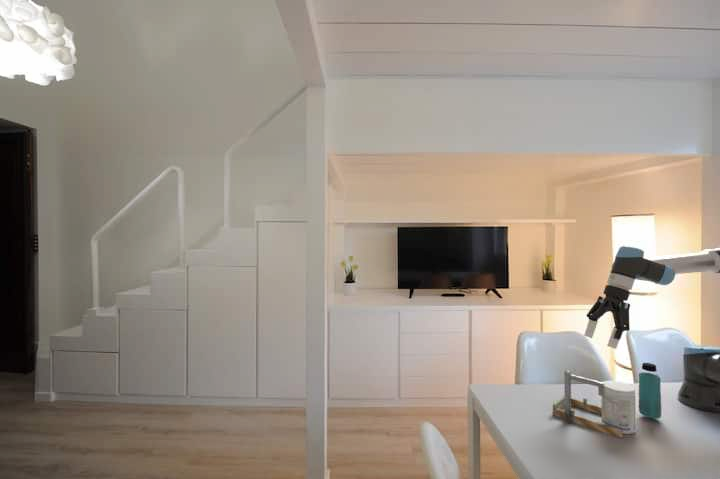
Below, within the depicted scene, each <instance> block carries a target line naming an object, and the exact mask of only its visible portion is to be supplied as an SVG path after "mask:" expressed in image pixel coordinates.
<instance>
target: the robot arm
mask: <svg viewBox="0 0 720 479" xmlns="http://www.w3.org/2000/svg"><path fill="white" fill-rule="evenodd" d="M644 254H645V251H644V250H643V249H641V248H639V247H634V246H630V245H622V246H620V247H619V249H618V250H617V253H616V254H615V258H614V261H613V263H612V265H611V270H610V274H609V275H608V279H607V281H606V283H607V284H606V285H605V287H604V289H603V295H605V296H601V295H599V296H598V297H597V300H596V302H594V305H593V306H592V307H591V308H590V309H589V311H587V313H586V316H585V317H587V318H588V322H587V325H586V329H585V331H584V334H583V335H584V337H587V338H589V339H593V337H594V334H595V331H596V328H597V325H598V322H599V319H600V318H601V317H602V316H604V315H605V314H606V313H608V312H610V313H611V314H612V317H613V318H612V319H613V322H614V327H613V329H612V330H611V334H610V337H609V340H608V342H607V346H608V347H609V348H612V349H615V350H617V347H618V345H619V343H620V340H621V339H622V338H621V337H622V335H623V334H624V332H629V331H630V329H631V328H630V307H631V303H628V302H625V301H628V299H629V297H630V296H631V295H630V294H631V290H633V287H634V283H635V281H636V280H639V281H643V282H644V281H645V282H650V283H654V284H655V285H660V286H668V285H670V284H671V283H673V281H674V280H675V277H676V275H681V274H682V275H683V274H691V273H694V274H695V273H704V272H705V273H707V274H710V275H711V274H720V247H718V248H711V249H704V250H702V251H701V252H696V253H686V254H685V253H683V254H674V255H663V256H655V257H654V256H652V257H650V256H649V257H645V256H644ZM682 357H683V362H682V363H683V381H682V384H681V386H680V388H679V390H678V393H677V400H679V401H680V402H681V403H683V404H684V405H687V406H689V407H692V408H696V409H697V410H702V411H707V412H711V413H719V414H720V347H716V346H710V345H709V346H708V345H701V344H700V345H698V344H691V345H690V344H689V345H686V346H684V348H683V354H682Z"/></svg>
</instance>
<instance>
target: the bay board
mask: <svg viewBox="0 0 720 479" xmlns="http://www.w3.org/2000/svg"><path fill="white" fill-rule="evenodd" d="M572 406H573V407H575V408H579V409H582V410H586V411H588V412H592V413H595V414H598V415H601V416H602V406H600V405H596V404H593V403H589V402H588V398H585V397H583V399H582V400H580V399H576V398H572V397H571V407H572ZM552 416H555V417H556V418H557V417H558V418H560V419H564V395H563V396H561V397H560V398H559V399H558V400H555V402H554V403H553V404H552ZM571 423H575V424H578V425H581V426H584V427H586V428H589V429H592V430H595V431H598V432H601V433H604V434H607V435H610V436H611V437H612V436H613V437H616V438H618V439H623V434H622V430H621V429H618V428H615V427H612V426H609V425H606V424H603V423H602V422H601V421H600V422H599V421H595V420H593V419H590V418H587V417H584V416H580V415H578V414H576V412H575V409H572V408H571Z"/></svg>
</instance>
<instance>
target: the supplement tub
mask: <svg viewBox="0 0 720 479" xmlns="http://www.w3.org/2000/svg"><path fill="white" fill-rule="evenodd" d="M603 382H604V383H605V395H604V396H601V407H602V415H601V423H603V424H606V425H609V426H612V427H615V428H618V429H621V430H622V435H629V434H630V435H631V434H634V433H635V432H636V392H635V388H634V387H633V386H632V385H630V384H627V383H625V382H622V381H616V380H604V381H603Z"/></svg>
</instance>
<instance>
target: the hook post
mask: <svg viewBox="0 0 720 479" xmlns="http://www.w3.org/2000/svg"><path fill="white" fill-rule="evenodd" d="M563 373H564V380H563V381H564V383H563V384H564V388H563V389H564V392H563V393H564V395H563V396H564V409H563V411H564V423H565V424H571V423H572V421H571V409H572V405H571V398H572V381H576V382H579V383H584V384H586V385H590V386H594V387H598V392H597V393H598V396H600V397H602V396H604V395H605V383H604V381H600V380H595V379H591V378H588V377H583V376H579V375H576V374H572V372H571V371H570V370H564V372H563Z"/></svg>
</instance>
